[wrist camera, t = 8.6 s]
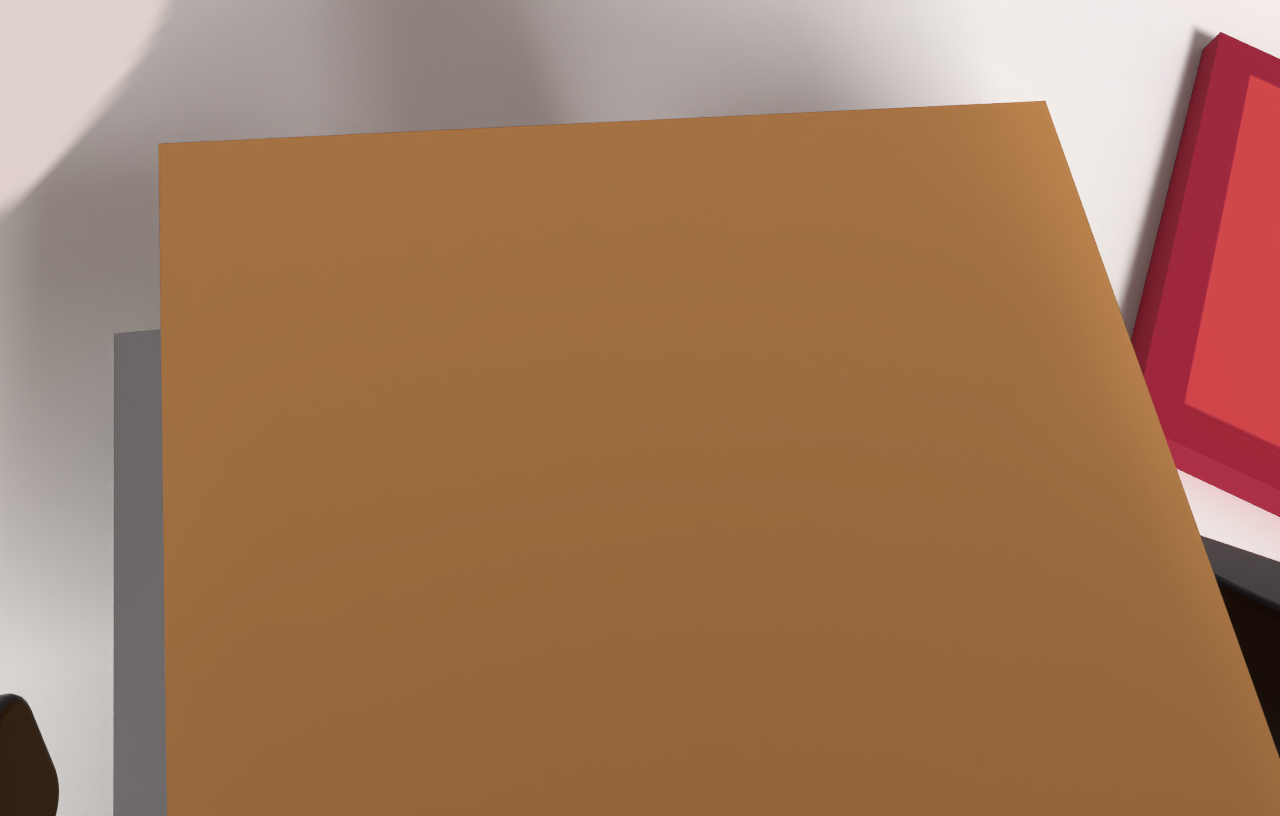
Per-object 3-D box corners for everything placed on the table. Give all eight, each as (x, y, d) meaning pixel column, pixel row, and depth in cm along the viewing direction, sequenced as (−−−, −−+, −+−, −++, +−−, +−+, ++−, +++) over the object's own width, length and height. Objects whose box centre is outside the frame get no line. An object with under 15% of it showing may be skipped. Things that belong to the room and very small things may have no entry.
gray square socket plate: (972, 998, 15) (1063, 1050, 13) (182, 1211, 12) (112, 1322, 10) (808, 326, 18) (854, 269, 16) (168, 390, 16) (114, 333, 14)
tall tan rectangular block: (725, 809, 15) (1382, 1043, 4) (420, 872, 14) (175, 1413, 3) (672, 517, 17) (1045, 100, 6) (392, 556, 16) (159, 143, 5)
